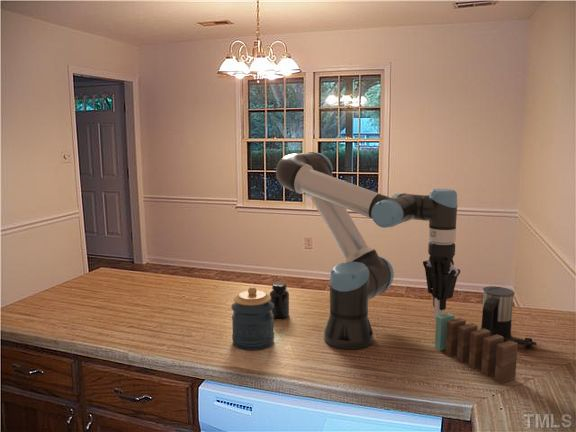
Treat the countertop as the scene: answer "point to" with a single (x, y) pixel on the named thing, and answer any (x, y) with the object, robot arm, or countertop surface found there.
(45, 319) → the countertop surface
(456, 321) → the domino
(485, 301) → the milk frother
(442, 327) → the domino
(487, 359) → the domino
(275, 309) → the supplement bottle
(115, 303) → the countertop surface
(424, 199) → the robot arm
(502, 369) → the domino
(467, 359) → the domino
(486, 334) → the domino
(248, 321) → the canister
